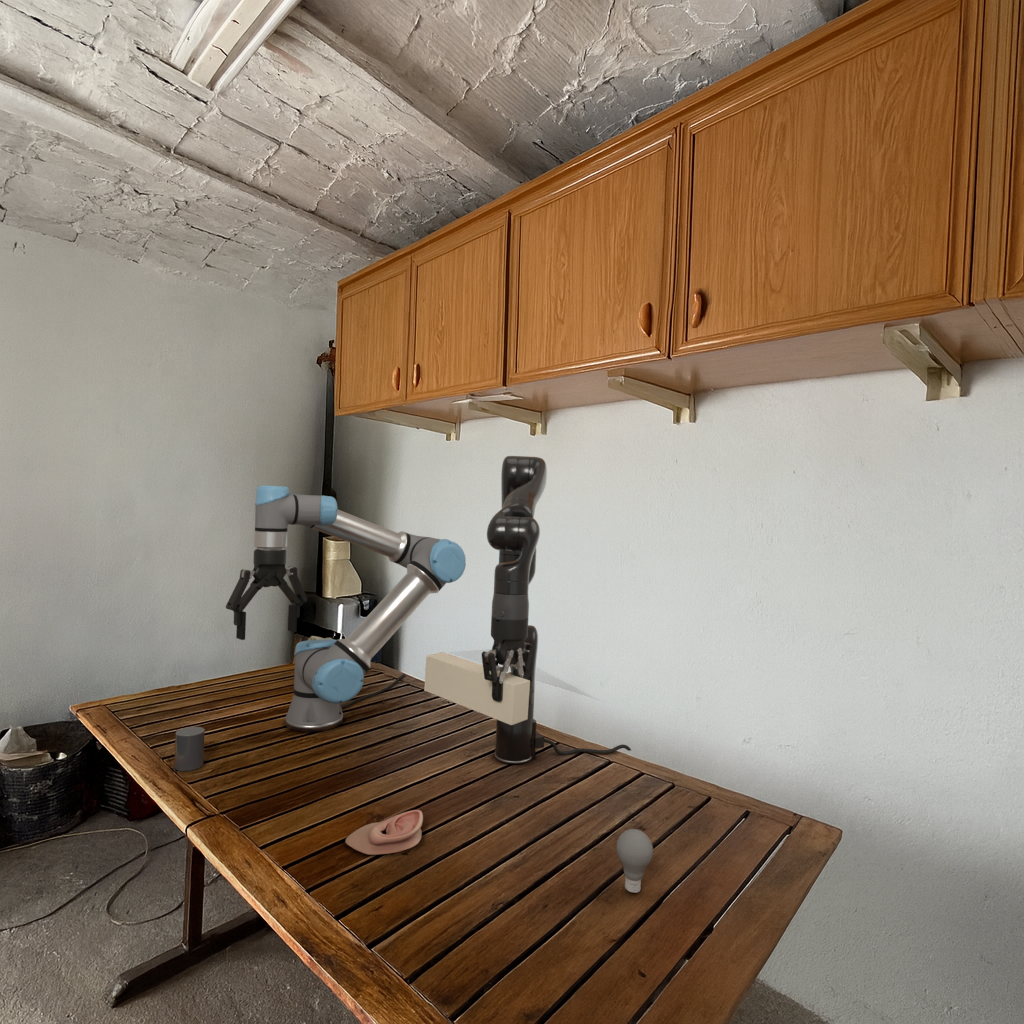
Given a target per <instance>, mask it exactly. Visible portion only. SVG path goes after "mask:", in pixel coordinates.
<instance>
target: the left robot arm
mask: <svg viewBox="0 0 1024 1024" xmlns="http://www.w3.org/2000/svg"><path fill="white" fill-rule="evenodd" d="M254 506H255V508H254V509H255V510H254V518H255V519H254V540H253V541H254V542H253V547H255V549H254V550H253V560H252V561H253V569H252V570H249V569H244V568H243V569H241V570H240V572H239V578H238V581H237V582H236V585H235V587H234V588H233V591H232V592H231V595H230V597H229V599H228V601H227V602H226V605H225V609H226V610H229V611H233V625H234V626H236V631H235V632H236V633H235V635H236V637H235V638H236V639H238V640H239V641H240V640H241V641H244V640H246V631H247V630H246V626H247V612H246V611H244V610H245V609H246V607H247V606H248V605H249V604H250V602H251V601H252V600H253V598H254V597H255V596H256V595H257V593H258V592H259V591H260V590H262V589H263V588H270V587H278V588H279V589H280V591H281V592H282V594H284V595H285V597H286V598H287V599H288V600H289V602H290V603H291V604H288V612H287V614H288V616H287V631H288V632H292V633H296V632H297V630H298V629H297V625H298V619H299V618H300V615H301V612H300V611H301V607H302V606H303V605H304V603H307V602H308V597H307V594H306V593H305V590H304V588H303V586H302V583H301V580H300V578H299V577H298V568H297V567H296V566H290V565H289V566H288V567H286V565H287V554H288V553H287V550H286V549H285V548H287V547H288V526H289V525H290V526H291V525H292V526H293V525H294V526H295V525H299V526H303V527H307V528H310V529H311V530H315V531H318V532H321V533H323V534H326V535H329V536H331V537H334V538H336V539H340V540H342V541H345V542H346V543H347V542H348V543H350V544H353V545H355V546H359V547H361V548H363V549H366V550H369V551H371V552H374V553H377V554H380V555H382V556H385V557H388V560H389V561H390V562H391V563H394V564H396V565H399V566H401V567H402V568H403V567H404V568H405V569H406V574H405V575H404V576H403V577H402V578H401V579H400V580H399V581H398V582H397V583H396V585H394V587H393V588H392V589H391V590H390V591H389V592H388V593H387V594H386V595H385V596H384V598H382V600H381V601H380V602H379V603H378V604H377V605H376V606H375V607H373V610H372V611H371V612H370V613H369V614H368V615H367V616H366V617H365V618H364V619H363V620H362V621H361V622H360V624H359V625H357V626H356V628H354V630H353V631H352V632H351V633H350V634H349V635H348V636H347V637H346V638H339V639H334V638H332V639H325V638H324V639H318V640H308V639H307V640H308V641H307V640H303V641H299V642H297V644H296V645H295V650H294V653H293V654H294V655H293V656H294V672H293V673H294V674H293V695H292V696H293V697H292V699H291V702H290V704H289V708H288V711H287V713H286V715H285V726H286V728H287V729H289V730H291V731H294V732H295V731H296V732H301V733H316V732H325V731H329V730H332V729H335V728H337V727H339V726H340V725H342V723H343V722H344V713H343V709H345V708H346V707H349V706H351V705H353V704H355V703H357V702H359V701H362V700H364V699H368V698H371V697H374V696H376V695H379V694H381V693H383V692H386V691H387V690H389V689H391V688H392V687H393V686H395V684H397V683H398V682H399V681H400V680H401V679H402V678H404V677H405V676H406V673H402V675H400V676H399V677H398V678H397V679H395V680H394V681H393V682H392V683H391V684H389V685H388V686H386V687H384V688H381V689H380V690H378V691H376V692H372V693H370V694H366V695H363V696H361V697H358V698H356V696H357V695H358V694H359V693H360V691H361V690H362V688H363V686H364V680H365V675H367V673H368V672H369V671H370V670H371V667H372V666H371V665H372V664H371V661H372V659H373V658H374V657H375V656H376V654H377V653H378V652H379V651H380V650H381V649H382V648H383V647H384V645H385V644H387V642H388V641H389V640H390V639H391V638H392V636H393V635H394V634H395V633H396V632H397V631H398V630H399V629H400V627H401V626H402V625H403V624H405V622H406V621H407V620H408V618H409V617H410V616H411V615H412V614H413V613H414V612H415V611H416V610H417V608H418V607H419V606H420V605H421V604H422V603H423V602H424V601H425V600H426V598H427V597H428V596H429V595H430V594H438V593H439V592H440V591H441V589H443V588H444V587H445V585H446V584H451V583H454V582H456V581H458V580H459V579H460V578H462V576H463V575H464V572H465V570H466V565H467V563H466V559H467V557H466V554H465V551H464V549H463V547H462V546H460V545H459V543H457V542H455V541H452V540H449V539H447V538H442V539H441V538H435V537H431V536H422V535H415V534H412V533H408V532H405V531H403V530H401V531H399V532H396V531H395V530H391V529H389V528H387V527H384V526H382V525H379V524H376V523H374V522H371V521H368V520H366V519H365V518H364V519H363V518H361V517H359V516H356V515H354V514H350V513H348V512H346V511H343V510H341V509H339V507H338V501H337V500H336V498H335V497H334V496H330V495H329V496H328V495H323V494H322V495H315V494H314V495H311V494H299V493H291V492H290V489H289V487H288V486H282V485H281V486H280V485H260V486H258V487H257V489H256V494H255V503H254ZM285 576H287V577H288V580H289V582H290V584H291V587H292V588H291V587H290V586H289V585H288V584H289V583H288V581H286V579H285ZM252 578H253V580H252V581H251V583H250V580H251V579H252ZM249 583H250V584H249ZM248 585H249V587H248ZM247 587H248V588H247ZM354 698H356V699H354ZM352 699H353V700H352ZM351 700H352V701H351ZM347 702H348V703H347ZM345 703H346V704H345ZM342 708H343V709H342Z"/></svg>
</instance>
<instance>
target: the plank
mask: <svg viewBox="0 0 1024 1024" xmlns="http://www.w3.org/2000/svg"><path fill="white" fill-rule="evenodd" d="M424 671H425V674H424V689H423V690H424V692H427V693H429V694H432V695H434V696H437V697H438V698H442V699H445V700H446V701H449V702H451V703H454V704H456V705H460V706H462V707H464V708H467V709H469V710H472V711H475V712H477V713H479V714H481V715H484V716H487V717H489V718H492V719H495V720H496V721H497V720H499V721H502V722H504V723H507V724H509V725H514V724H516V723H519V722H522V721H524V720H527V719H528V705H529V690H530V680H527V679H524V678H520V677H517V676H514V675H511V674H508V672H506V673H505V676H504V680H503V700H502V701H501V702H497V701H494V700H493V698H492V682H491V681H489V680H485V678H484V670H483V664H480V663H478V662H474V661H471V660H469V659H466V658H463V657H459V656H456V655H454V654H450V653H447V652H444V651H441V652H437V653H431V654H427V655H426V656H425V670H424ZM499 673H500V671H498V673H497V676H498V677H499ZM490 674H491V672H490Z"/></svg>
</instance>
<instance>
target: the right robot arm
mask: <svg viewBox="0 0 1024 1024" xmlns="http://www.w3.org/2000/svg"><path fill="white" fill-rule="evenodd" d="M546 463H547V462H546V461H545V460H544V459H543V458H542V457H538V456H527V455H525V456H524V455H523V456H522V455H519V456H518V455H507V456H505V457H504V459H503V460H502V465H501V476H500V477H501V478H500V479H501V480H500V481H501V483H500V484H501V509H500V510H499V511H497V512H496V513H495V514H494V515H493V516H492V518H491V519H490V521H489V523H488V526H487V529H486V539H487V542H488V544H489V546H490V547H491V548H493V549H494V550H497V551H498V564H496V566H495V567H494V574H493V575H494V576H493V579H494V580H493V594H492V601H491V615H490V616H491V619H490V636H491V638H492V639H493V643H492V647H491V649H490V650H489V651H484V650H483V651H482V652H481V660H482V661H481V662H482V665H483V670H484V678H485V680H489V681H491V682H492V698H493V700H494V701H497V702H501V701H502V700H503V680H504V676H505V673H508V674H511V675H514V676H517V677H520V678H524V679H527V680H530V690H529V705H528V719H527V720H524V721H522V722H519V723H516V724H514V725H509V724H507V723H504V722H502V721H499V720H497V719H496V724H495V725H496V726H495V745H494V759H496V760H497V761H498V762H500V763H504V764H507V765H508V764H509V765H521V764H522V765H523V764H525V763H526V764H527V763H529V762H530V761H532V760H534V759H536V749H543V748H545V743H546V744H549V745H551V746H552V748H553V750H554V752H555V753H556V754H558V755H560V756H567V755H572V754H577V753H590V754H599V755H604V754H605V755H607V754H612V753H614V752H617V751H618V750H621V749H625V750H626V751H628V752H631V751H632V749H631V747H629V746H628V745H627V744H619V745H616V746H614V747H613V748H609V749H594V748H581V747H580V748H574V749H570V750H565V751H564V750H560V749H559V748H558V745H557V744H556V743H555V742H554V741H552V740H551V739H548V738H545V735H543V734H541V733H540V732H539V731H537V720H536V719H534V716H535V715H534V714H535V693H536V692H535V690H536V667H537V658H538V647H539V635H538V634H539V633H538V630H537V628H536V626H535V625H532V624H531V625H529V617H530V616H529V613H530V601H529V587H530V584H531V582H532V581H533V579H534V577H535V575H536V567H537V546H538V543H539V539H540V534H541V528H540V525H539V523H538V521H537V520H536V519H535V518H534V517H535V512H536V507H537V504H538V502H539V501H540V499H541V498H542V495H543V493H544V491H545V489H546V485H547V475H548V471H547V464H546ZM509 669H510V671H509ZM498 671H500V673H499V677H498V676H497V673H498ZM490 672H491V674H490Z"/></svg>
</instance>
